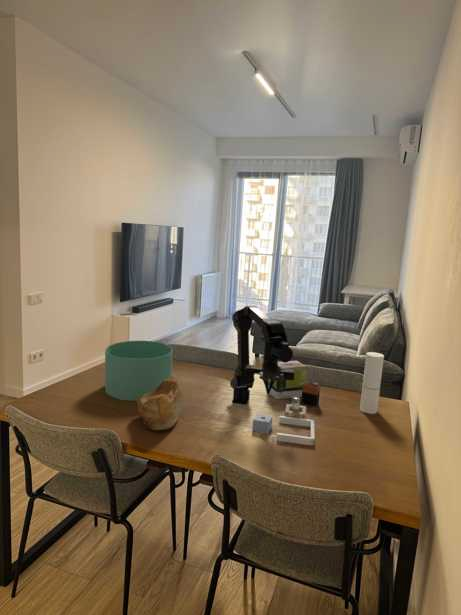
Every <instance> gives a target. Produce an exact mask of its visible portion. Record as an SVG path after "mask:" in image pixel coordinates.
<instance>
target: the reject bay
mask: <svg viewBox="0 0 461 615" xmlns="http://www.w3.org/2000/svg"><path fill="white" fill-rule="evenodd" d="M278 421H279V422H278V423H279V424H283V425H284V424H285V425H292V426H299V427H307V428H309V430H310V432H309V436H305V435H298V434H297V435H296V434H291V433H281V432H277V433H276V442H284V443H290V444H291V443H292V444H298V445H303V446H304V445H305V446H312V447H315V440H316V439H315V420H314V419H309V418H306V419H302V418H294V417H286V416H285V415H279V420H278Z"/></svg>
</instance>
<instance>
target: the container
mask: <svg viewBox="0 0 461 615" xmlns="http://www.w3.org/2000/svg"><path fill="white" fill-rule="evenodd" d="M173 351H174V350H173V348H172V346H170V345H168V344H166V343H163V342H158V341H154V340H153V341H152V340H128V341H127V340H126V341H120V342H116V343H111V344H110V345H108V346H107V347H106V348H105V350H104V353H105V355H104V392H105V394H107V395H108V396H110V397H112V398H114V399H117V400H122V401H128V402H137V400H138V399H139V398H140V397H141V396H142V395H144V394H146V393H149V392H151V391H153V390H155V389H156V388H157V387H158V386H159V385H160V384H161V383H162V382H163V381H164V380H166V379H168V378H169V377H170V376H173Z"/></svg>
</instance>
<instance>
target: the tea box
mask: <svg viewBox="0 0 461 615" xmlns="http://www.w3.org/2000/svg"><path fill="white" fill-rule="evenodd" d="M278 366H279V367H281V371H284V368H288V369H293V370H294V373H295V375H294V380H286V379H285V378H284V376H279V380H278V381H275V382H274V384H273V386H272V388H271V390H270V393H269V395H271V396H272V397H273V399H275V400H282V399H291V398H293V397H299V398H302V388H303V384H304V383H305V382H306V381H307V376H308V375H307V373H308V372H307V371H308V367H307V365H305V364H303V363H301V362H300V361H298V360H290V361H288V362H286V363H285V362H282V361H278ZM269 384H270V379H268V389H269Z"/></svg>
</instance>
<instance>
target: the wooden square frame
mask: <svg viewBox="0 0 461 615" xmlns="http://www.w3.org/2000/svg"><path fill="white" fill-rule="evenodd" d="M306 415H307V405H300V407H299V412H295V411H292V403H291V404H289V403H286V405H285V413H284V416H286V417H294V418H302V419H307V418H306V417H307V416H306Z"/></svg>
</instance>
